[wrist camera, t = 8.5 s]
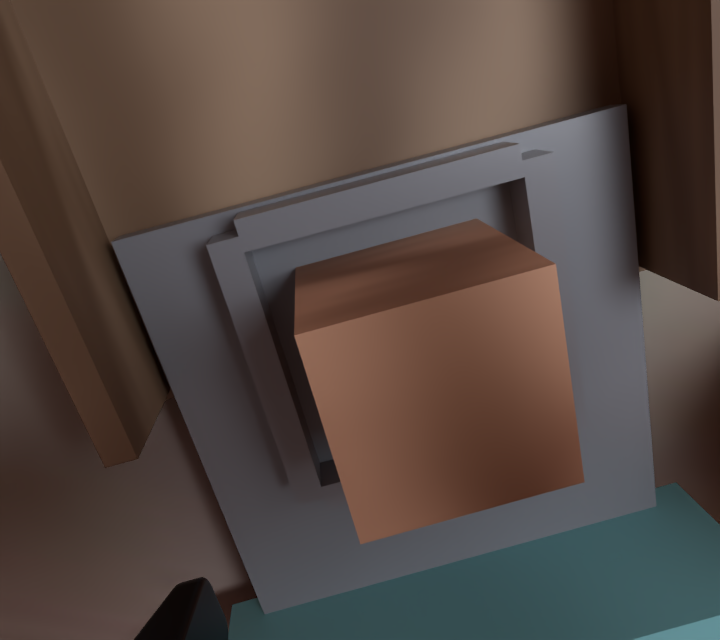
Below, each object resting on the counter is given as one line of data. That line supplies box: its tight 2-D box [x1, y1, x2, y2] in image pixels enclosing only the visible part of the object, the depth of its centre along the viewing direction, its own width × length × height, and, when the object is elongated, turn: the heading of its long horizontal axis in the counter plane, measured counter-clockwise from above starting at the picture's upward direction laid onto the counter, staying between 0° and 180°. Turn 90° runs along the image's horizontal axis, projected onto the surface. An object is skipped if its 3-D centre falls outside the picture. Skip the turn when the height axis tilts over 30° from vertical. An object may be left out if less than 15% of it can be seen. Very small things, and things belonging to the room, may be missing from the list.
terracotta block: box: [294, 218, 585, 544], centre depth 14 cm, size 5×5×5 cm
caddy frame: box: [0, 0, 720, 468], centre depth 13 cm, size 16×14×6 cm
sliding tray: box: [111, 104, 720, 640], centre depth 15 cm, size 16×14×5 cm
